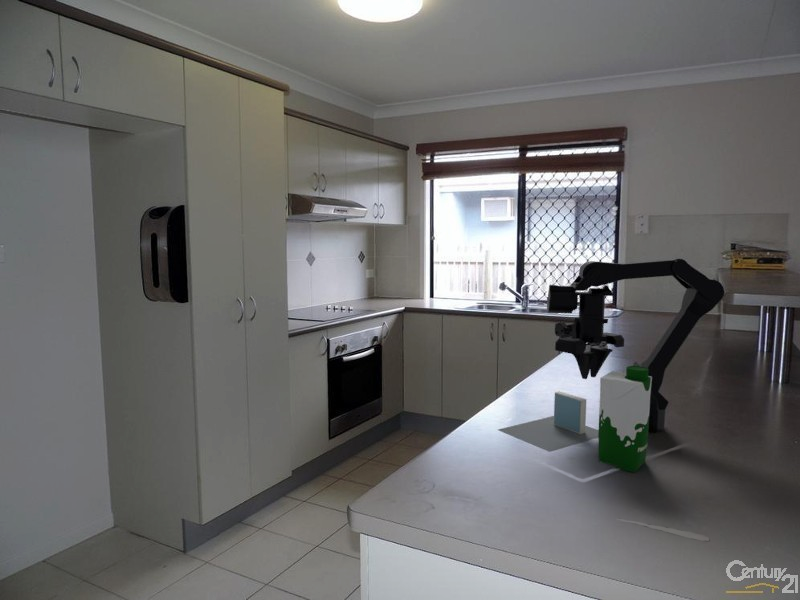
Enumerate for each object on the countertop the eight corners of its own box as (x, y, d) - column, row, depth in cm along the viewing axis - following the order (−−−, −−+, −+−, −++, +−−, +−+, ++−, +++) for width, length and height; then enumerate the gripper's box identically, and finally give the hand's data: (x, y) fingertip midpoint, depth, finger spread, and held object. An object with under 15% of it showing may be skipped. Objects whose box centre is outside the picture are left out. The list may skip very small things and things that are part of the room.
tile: (585, 432, 128) (586, 399, 127) (579, 434, 127) (581, 400, 126) (558, 423, 134) (559, 391, 134) (553, 424, 133) (554, 392, 133)
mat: (609, 436, 127) (609, 433, 127) (549, 454, 116) (549, 451, 116) (555, 417, 141) (555, 415, 140) (497, 432, 130) (497, 429, 130)
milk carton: (638, 475, 106) (643, 374, 104) (591, 463, 112) (595, 367, 109) (651, 461, 113) (656, 366, 110) (606, 451, 118) (610, 359, 116)
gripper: (589, 308, 143) (586, 366, 145) (538, 312, 133) (536, 376, 135) (627, 312, 134) (623, 375, 135) (575, 318, 124) (573, 386, 125)
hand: (588, 377), depth 133 cm, fingers open, 3 cm apart
